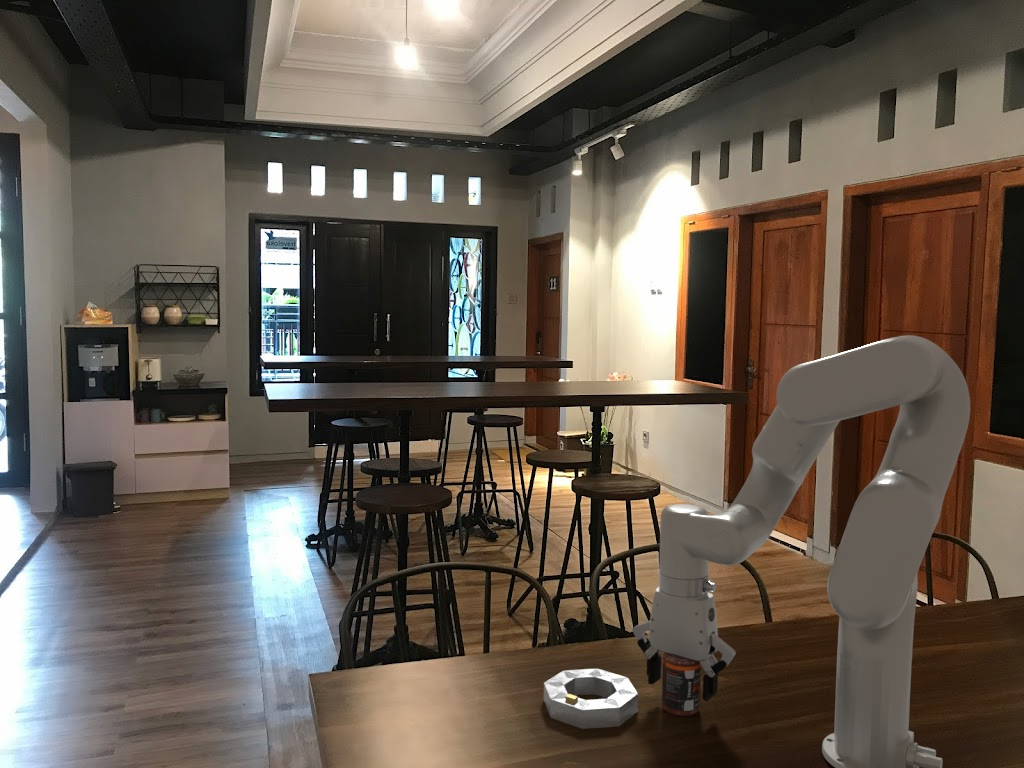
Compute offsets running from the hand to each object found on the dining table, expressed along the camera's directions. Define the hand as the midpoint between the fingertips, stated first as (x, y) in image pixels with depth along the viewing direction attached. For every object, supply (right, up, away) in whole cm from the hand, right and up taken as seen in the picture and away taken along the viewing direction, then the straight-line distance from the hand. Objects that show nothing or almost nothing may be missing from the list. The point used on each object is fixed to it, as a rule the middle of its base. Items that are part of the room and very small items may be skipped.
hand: (681, 689), depth 132 cm
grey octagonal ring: (-14, -3, +1) cm, 15 cm away
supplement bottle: (0, -3, 0) cm, 3 cm away
